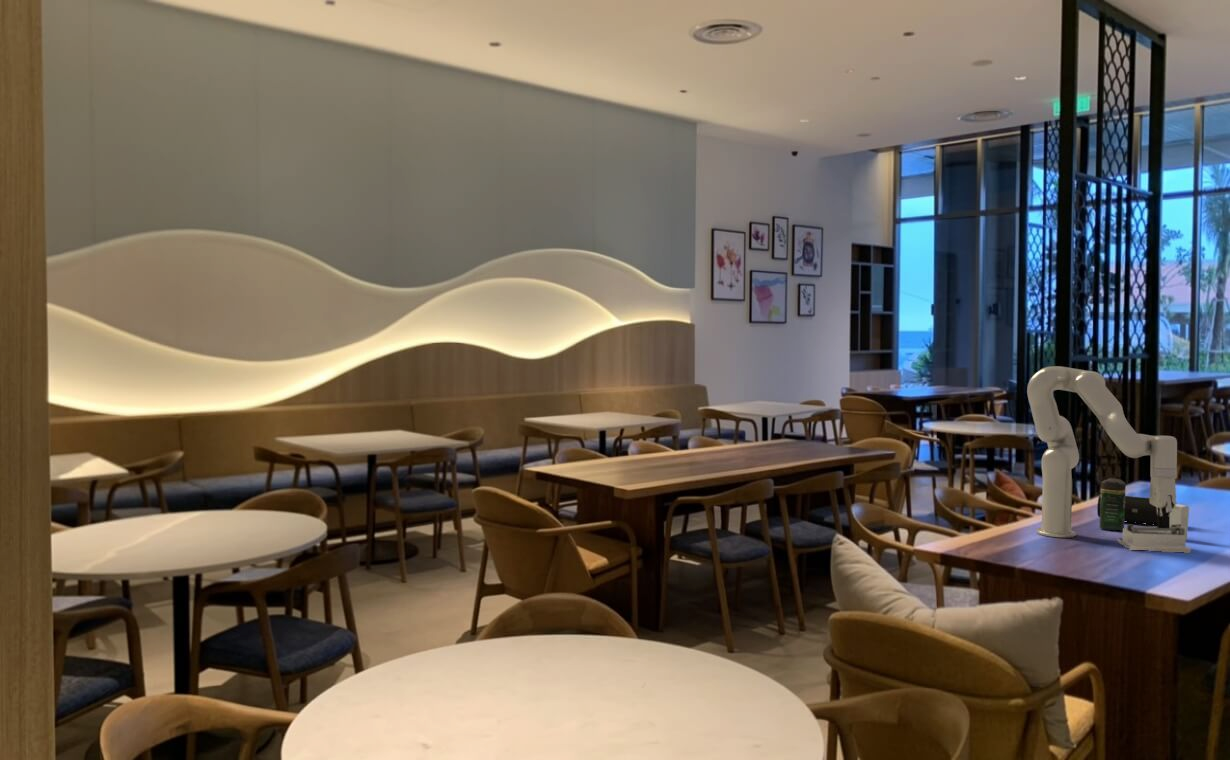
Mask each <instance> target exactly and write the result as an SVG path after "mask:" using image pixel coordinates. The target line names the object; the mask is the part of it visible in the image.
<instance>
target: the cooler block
mask: <svg viewBox="0 0 1230 760" xmlns="http://www.w3.org/2000/svg"><path fill="white" fill-rule="evenodd" d="M1129 526H1134V525H1133V524H1129V523H1127V524H1126V527H1124V528H1123V530H1122V538H1117V543H1118V542H1119V543H1121V544H1122V545H1124V546H1126V547H1127V548H1129V549H1130V550H1153V551H1162V552H1161V553H1174V552H1184V553H1183V554H1191V552H1192V549H1191V547H1188V546H1187V545H1186V543H1187V540H1186V535H1184V528H1179V529H1178V531H1142V530H1139V528H1137V527H1132V530H1131V529H1130V528H1129ZM1171 526H1172V527H1177V525H1173V524H1171ZM1119 543H1118V544H1119ZM1121 544H1120V545H1121ZM1122 545H1121V546H1122ZM1124 546H1123V547H1124ZM1126 547H1125V548H1126ZM1127 548H1126V549H1127ZM1129 549H1128V550H1129ZM1130 550H1129V551H1130Z"/></svg>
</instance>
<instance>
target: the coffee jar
mask: <svg viewBox="0 0 1230 760" xmlns="http://www.w3.org/2000/svg"><path fill="white" fill-rule="evenodd" d="M1126 487H1127V486H1126V482H1124V480H1122V479H1119V478H1114V477H1113V478H1111V477H1110V478H1107V479H1104V480H1103V481H1101V485H1100V496H1101V503H1100V517H1099V529H1101V528H1102V529H1101V530H1106V529H1108V530H1114V531H1117V530H1121V531H1123V528H1125V522H1124V516H1125V496H1126V491H1127V490H1126ZM1108 530H1107V531H1108Z"/></svg>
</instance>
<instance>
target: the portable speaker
mask: <svg viewBox="0 0 1230 760" xmlns="http://www.w3.org/2000/svg"><path fill="white" fill-rule="evenodd" d="M1100 503H1101V495H1099V496H1098V499H1097V507H1096V508H1097V509H1096V510H1097V511H1096V512H1097V516H1098V518H1100ZM1176 504H1178V503H1177V502H1176ZM1124 521H1127V522H1136V523H1146V524H1154V525H1157V508H1156V507H1155V506H1153V505H1151V504H1150V502H1149V497H1141V496H1140V497H1139V496H1133V495H1132V496H1130V495H1125V516H1124ZM1127 522H1126V523H1127ZM1136 523H1135V524H1136ZM1154 525H1153V526H1154Z"/></svg>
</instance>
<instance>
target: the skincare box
mask: <svg viewBox="0 0 1230 760" xmlns="http://www.w3.org/2000/svg"><path fill="white" fill-rule="evenodd" d="M1189 515H1190V505H1184V504H1180V503H1177V504H1176V506H1175V507H1174V508H1172V512H1171V513H1170V526H1171V524H1173V525H1177V527H1180V528H1184V535H1186V541H1187V540H1188V532H1189V531H1188V527H1189Z"/></svg>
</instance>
